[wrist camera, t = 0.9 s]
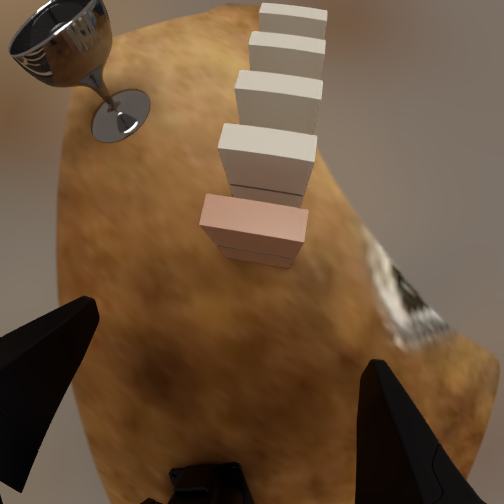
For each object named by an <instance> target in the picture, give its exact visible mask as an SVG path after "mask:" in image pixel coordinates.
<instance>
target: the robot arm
mask: <svg viewBox="0 0 504 504" xmlns="http://www.w3.org/2000/svg"><path fill="white" fill-rule="evenodd" d="M98 323H99V313H98V309H97V305H96V301H95V300H94V299H93V298H91V297H88V296H82V297H80V298H78V299H76V300H74V301H71V302H69V303H67V304H65V305H63V306H61V307H59V308H57V309H55V310H53V311H51V312H49V313H47V314H45V315H43V316H41V317H39V318H37V319H36V320H33V321H31V322H29V323H27V324H25V325H23V326H21V327H19V328H18V329H16V330H14V331H12V332H10V333H8V334H6V335H4V336H3V337H0V481H1V482H3V483H4V484H6V485H8V486H9V487H11V488H13V489H14V490H16V491H18V492H20V493H22V491H23V489H24V486H25V483H26V481H27V478H28V475H29V473H30V470H31V468H32V465H33V463H34V460H35V458H36V456H37V453H38V449H39V448H40V446H41V444H42V441H43V439H44V436H45V434H46V432H47V430H48V428H49V426H50V423H51V421H52V419H53V417H54V415H55V413H56V411H57V409H58V407H59V405H60V403H61V401H62V399H63V396H64V394H65V393H66V391H67V389H68V387H69V385H70V383H71V381H72V379H73V377H74V375H75V373H76V371H77V369H78V368H79V366H80V364H81V362H82V360H83V358H84V356H85V353H86V351H87V349H88V346H89V344H90V342H91V339H92V337H93V335H94V332H95V330H96V328H97V326H98ZM232 467H236V468H237V469H233V468H232ZM173 473H175V474H176V475H174V474H173ZM169 476H170V479H171V481H172V483H173V485H174V489H173V491H174V493H173V495H172V497H171V498H170V500H169V502H168V504H254V501H253V499H252V496H251V493H250V491H249V488H248V485H247V483H246V480H245V477H244V474H243V472H242V469H241V466H240V465H239V464H238V463H227V464H219V465H214V464H207V465H197V466H187V467H186V468H178V469H171V470H170V472H169ZM0 504H3V502H2V499H1V496H0ZM141 504H162V503H159V502H156V501H155V500H154V499H151V498H147V499H146V500H145V501H144V502H142V503H141ZM355 504H486V503H485V502H484V501H483V500H481V499H480V497H479V496H478V495H477V494H476V492H475V491H474V490H473V488H472V487H471V486H470V485H469V483H468V482H467V481H466V479H465V478H464V477H463V476H462V474H461V473H460V472H459V470H458V469H457V468H456V466H455V465H454V463H453V462H452V461H451V459H450V458H449V456H448V455H447V453H446V452H445V450H444V448H443V447H442V445H441V444H440V443H439V441H438V439H437V438H436V436H435V434H434V433H433V431H432V430H431V428H430V427H429V425H428V424H427V422H426V421H425V419H424V418H423V416H422V415H421V413H420V412H419V410H418V409H417V407H416V406H415V404H414V403H413V401H412V400H411V398H410V397H409V395H408V394H407V392H406V391H405V389H404V388H403V386H402V385H401V383H400V382H399V380H398V379H397V378H396V376H395V375H394V373H393V372H392V370H391V369H390V367H389V366H388V365H387V363H386V362H385V361H384V360H380V359H372V360H370V362H369V363H368V365H367V367H366V369H365V370H364V372H363V373H362V376H361V379H360V390H359V402H358V413H357V461H356V492H355Z"/></svg>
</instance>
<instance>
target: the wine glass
mask: <svg viewBox="0 0 504 504" xmlns="http://www.w3.org/2000/svg"><path fill="white" fill-rule="evenodd" d="M112 43H113V37H112V30H111V24H110V20H109V17H108V13H107V10H106V8H105V5H104V3H103V1H102V0H51V1H50V2H48V3H47V4H45V5H44V6H43V7H41V8H40V9H39V10H37V11H36V12H35V13H34V14H33V15H32V16H31V17H30V18H29V19H28V20H27V21H26V22H25V23H24V24H23V25H22V26H21V27H20V28H19V30H18V31H17V32H16V34H15V35H14V37H13V38H12V40H11V42H10V45H9V48H8V52H9V54H10V55H11V56H12V58H13V59H14V60H15V61H16V62H17V63H18V64H19V65H20V66H21V67H22V68H23V69H24V70H25V71H26V72H28V73H29V74H30V75H32V76H33V77H35V78H36V79H38V80H39V81H41V82H43V83H45V84H47V85H49V86H52V87H56V88H57V87H58V88H68V87H77V86H85V87H89V88H91V89H93V90H94V91H95V92H96V93H97V94H98V95H99V96H100V97H101V98H102V99H103V100H104V101H103V102H102V103H101V104H100V106H99V107H98V108H97V110H96V111H95V113H94V115H93V118H92V121H91V132H92V134H93V136H94V137H95V138H96V139H97V140H98V141H100V142H104V143H113V142H117V141H120V140H123V139H125V138H127V137H128V136H130V135H131V134H133V133H134V132H135V131H136V130H137V129H138V128H139V127H140V126H141V125H142V124H143V122H144V121H145V119H146V118H147V116H148V113H149V110H150V100H149V97H148V96H147V94H146V93H145V92H143V91H141V90H138V89H125V90H121V91H119V92H116V93H114V94H113V95H111V96H110V94H109V92H108V90H107V88H106V86H105V84H104V81H103V70H104V67H105V64H106V61H107V59H108V57H109V54H110V51H111V48H112Z"/></svg>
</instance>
